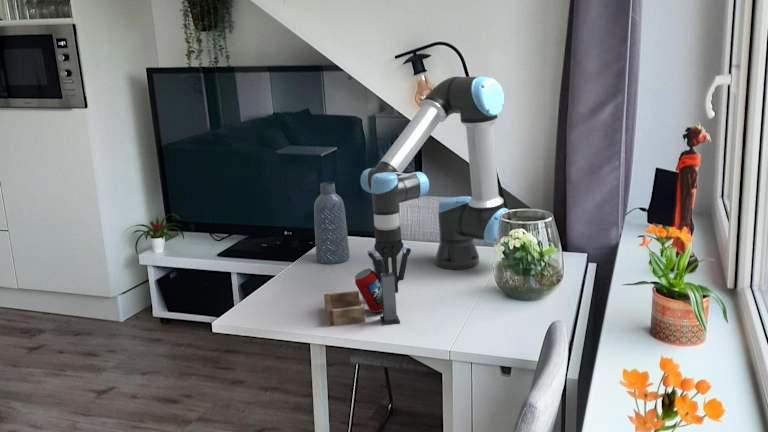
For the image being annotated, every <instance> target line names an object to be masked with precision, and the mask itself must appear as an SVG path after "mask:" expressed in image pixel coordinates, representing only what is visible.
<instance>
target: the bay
mask: <svg viewBox="0 0 768 432" xmlns="http://www.w3.org/2000/svg"><path fill="white" fill-rule="evenodd" d="M323 298H324V300H323V301H324V309H325V315H326V319H327V326H328V327H335V326H336V327H337V326H343V325H344V326H346V325H351V324H361V323H363V324H364V323H366V312H365V306H361V303H360V291H359V290H352V291H343V292H334V293H333V292H332V293H325V294H323Z"/></svg>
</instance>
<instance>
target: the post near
mask: <svg viewBox="0 0 768 432" xmlns="http://www.w3.org/2000/svg"><path fill="white" fill-rule="evenodd" d="M380 277H381V294H382V315H380V316H379V320H380V323H381V325H382V326H389V325H390V326H391V325H398V324H401V321H400V318H399V316H398V313H397V300H396V293H395V277H394V274H393V272H392V271H391V272H389V273H381V274H380Z"/></svg>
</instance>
